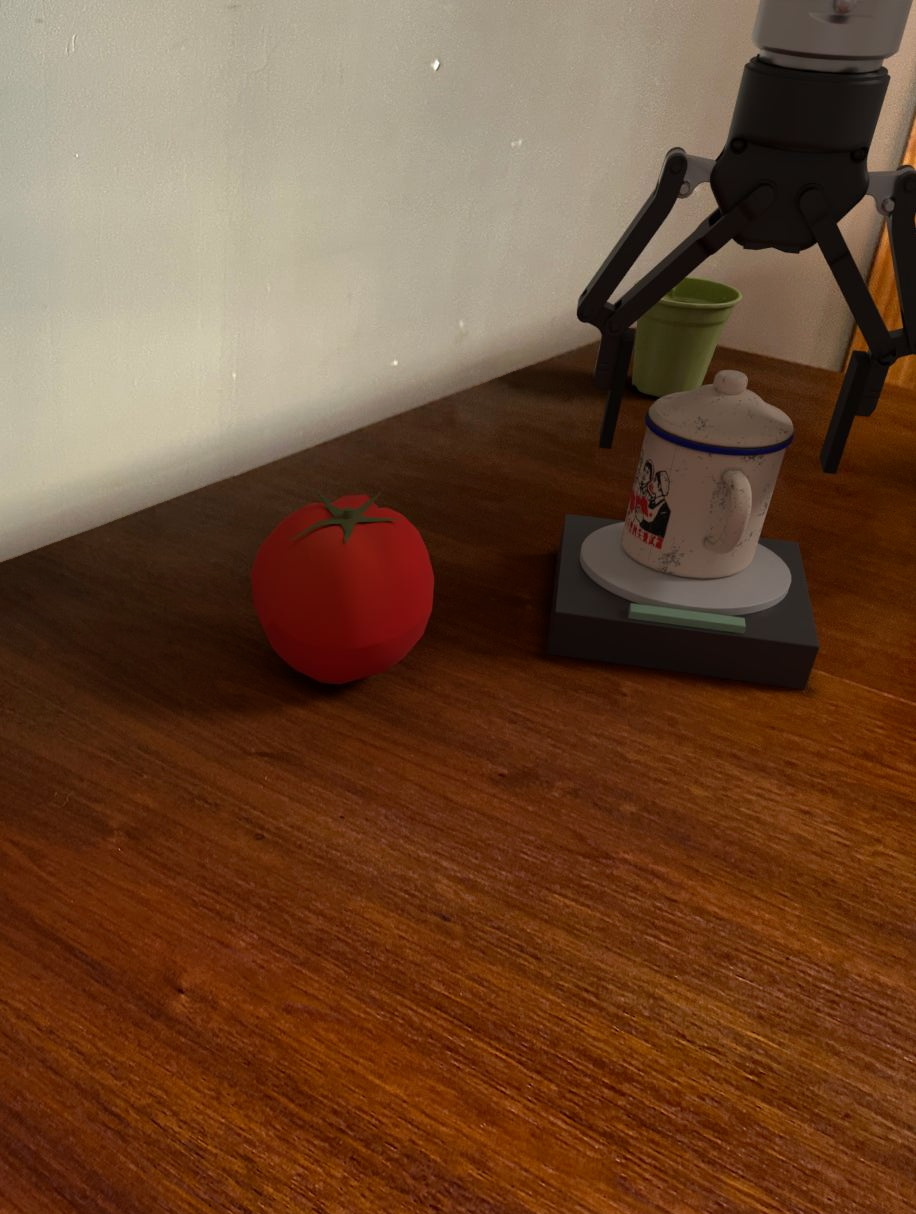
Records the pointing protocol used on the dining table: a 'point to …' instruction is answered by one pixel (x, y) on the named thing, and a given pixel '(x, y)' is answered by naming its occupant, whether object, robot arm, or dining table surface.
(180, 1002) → the dining table surface
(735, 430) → the teacup with lid
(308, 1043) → the dining table surface
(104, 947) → the dining table surface
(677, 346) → the plant pot
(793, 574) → the scale
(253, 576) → the tomato
